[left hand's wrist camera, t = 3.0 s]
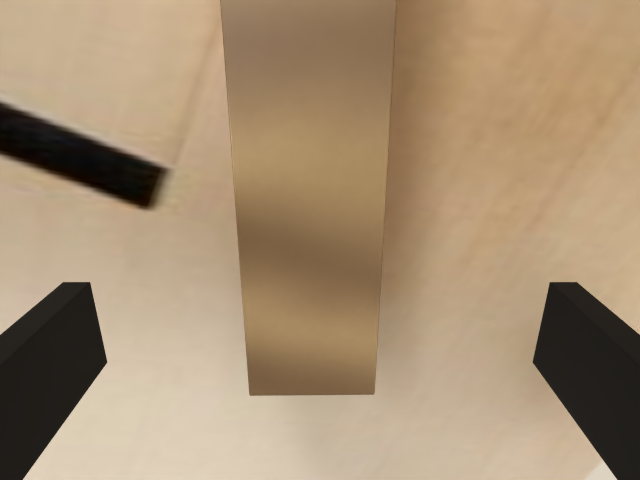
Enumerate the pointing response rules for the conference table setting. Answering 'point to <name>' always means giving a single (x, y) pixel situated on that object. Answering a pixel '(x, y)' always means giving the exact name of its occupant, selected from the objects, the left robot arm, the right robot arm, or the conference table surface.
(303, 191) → the beam
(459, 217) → the conference table surface
